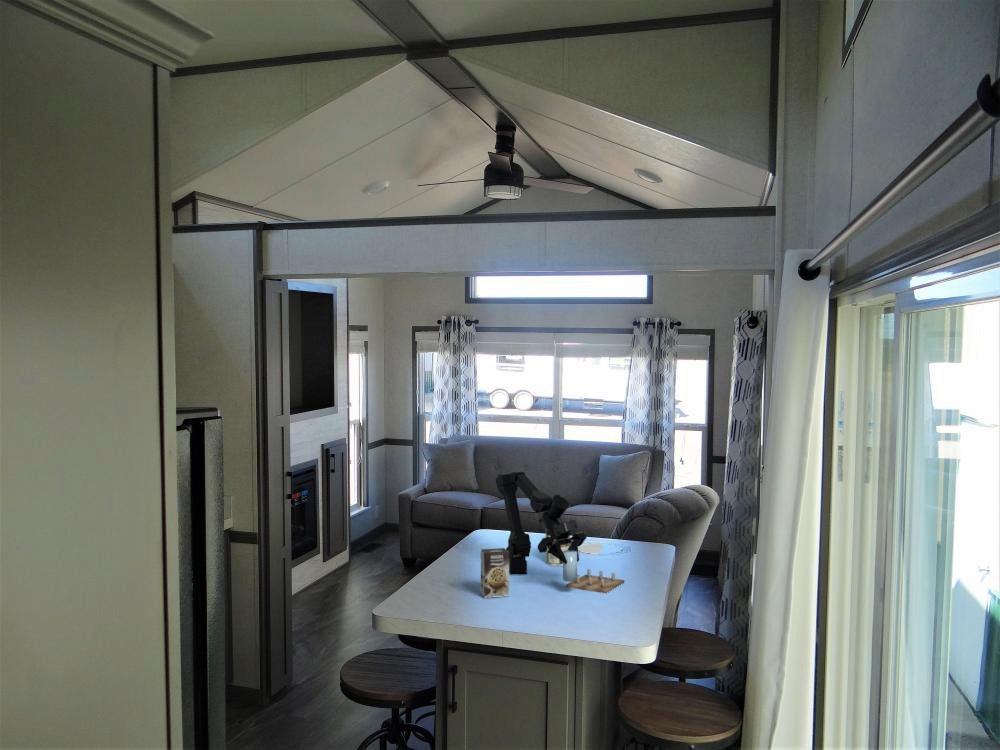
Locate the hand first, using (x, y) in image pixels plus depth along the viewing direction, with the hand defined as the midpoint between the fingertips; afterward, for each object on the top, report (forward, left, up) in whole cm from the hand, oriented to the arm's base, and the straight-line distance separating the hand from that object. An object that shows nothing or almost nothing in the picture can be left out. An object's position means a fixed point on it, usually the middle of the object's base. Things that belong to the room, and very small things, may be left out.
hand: (572, 562), depth 283 cm
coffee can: (+8, +44, -12) cm, 46 cm away
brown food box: (-27, +5, -12) cm, 30 cm away
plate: (+33, +63, -12) cm, 72 cm away
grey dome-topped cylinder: (0, +1, -7) cm, 7 cm away
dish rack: (+12, +9, -11) cm, 19 cm away
